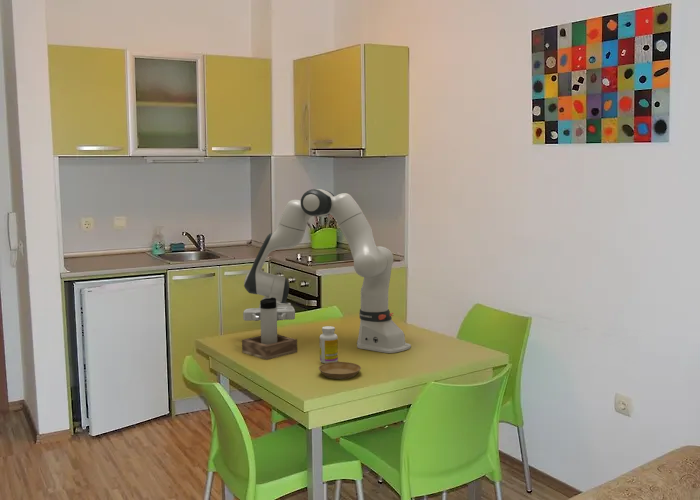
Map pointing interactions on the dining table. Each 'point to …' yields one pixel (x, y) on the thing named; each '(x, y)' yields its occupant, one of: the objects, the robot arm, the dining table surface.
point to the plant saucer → (339, 370)
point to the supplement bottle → (328, 345)
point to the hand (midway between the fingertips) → (268, 318)
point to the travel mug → (268, 321)
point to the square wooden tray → (269, 347)
